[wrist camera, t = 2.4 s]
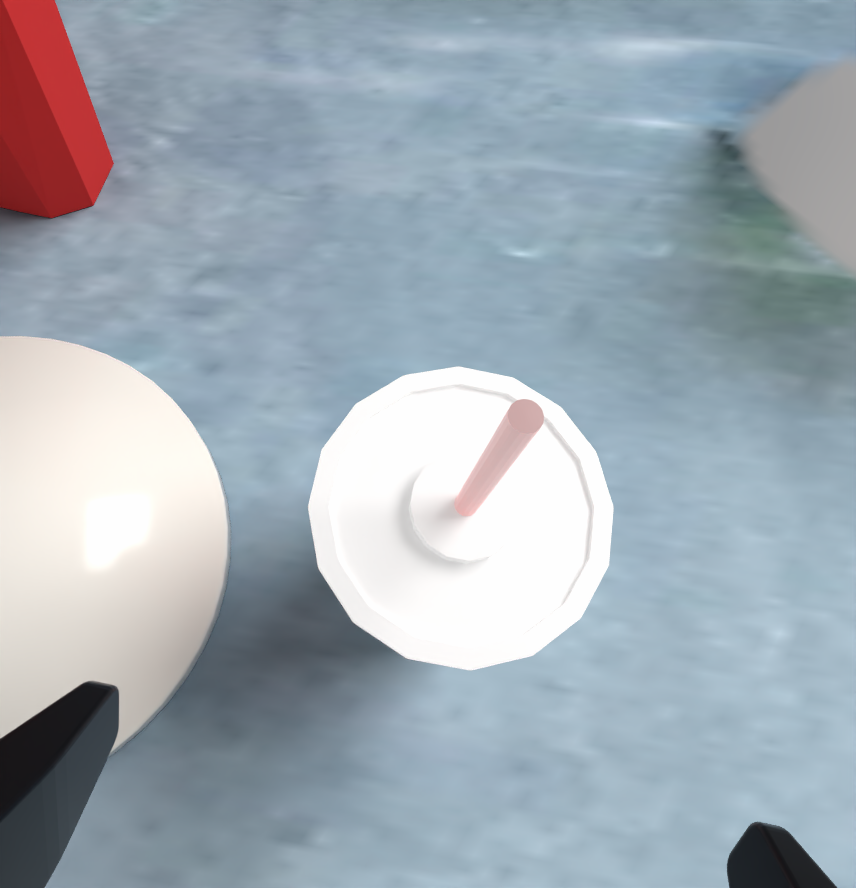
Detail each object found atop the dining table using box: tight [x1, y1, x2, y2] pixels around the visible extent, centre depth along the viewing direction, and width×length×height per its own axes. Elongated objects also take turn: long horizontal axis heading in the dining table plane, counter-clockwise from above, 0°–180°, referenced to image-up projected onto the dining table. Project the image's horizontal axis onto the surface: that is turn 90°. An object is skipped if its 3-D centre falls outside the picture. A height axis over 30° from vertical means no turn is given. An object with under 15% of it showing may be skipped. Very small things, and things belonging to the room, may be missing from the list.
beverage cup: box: [308, 367, 613, 670], centre depth 15 cm, size 6×6×14 cm
